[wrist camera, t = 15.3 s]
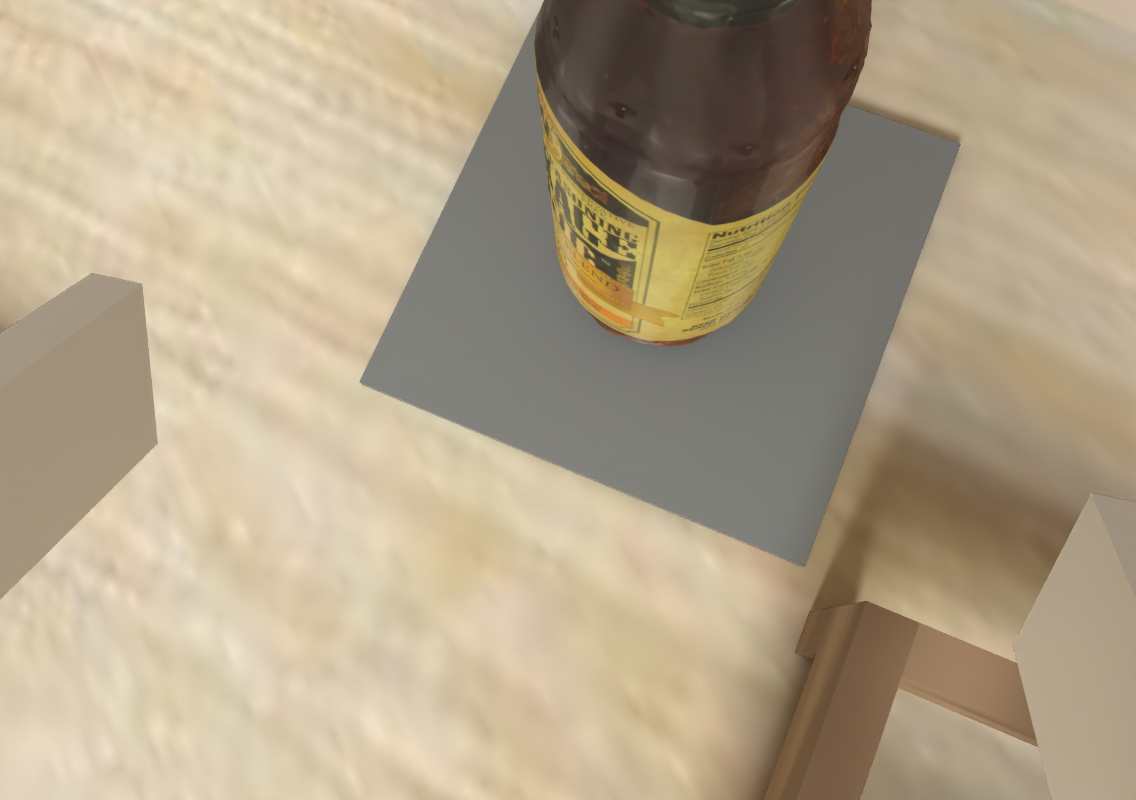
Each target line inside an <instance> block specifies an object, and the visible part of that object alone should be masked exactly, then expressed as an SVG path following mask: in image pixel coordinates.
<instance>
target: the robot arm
mask: <svg viewBox="0 0 1136 800" xmlns="http://www.w3.org/2000/svg"><path fill="white" fill-rule="evenodd" d="M157 444H158V442H157V432H156V422H155V411H154V401H153V391H152V380H151V370H150V360H149V349H148V339H147V329H146V318H145V308H144V298H143V287H142V284H140V283H136V282H131V281H127V280H122V279H118V278H113V277H108V276H104V275H99V274H95V273H91V274H90V275H88V276H86V277H85V278H83V279H82V280H80V281H79V282H77V283H76V284H74V285H73V286H71V287H70V288H68V289H67V290H65V291H64V292H62V293H61V294H59V295H58V296H56V297H55V298H53V299H52V300H50V301H49V302H47V303H46V304H44V305H43V306H41V307H39V308H38V309H36V310H35V311H33V312H32V313H30V314H29V315H27V316H26V317H24V318H23V319H21V320H20V321H18V322H17V323H15V324H14V325H12V326H11V327H9V328H8V329H6V330H5V331H3V332H2V333H0V599H1V598H2V597H3V596H4V595H5V594H6V593H7V592H8V591H9V590H10V589H11V588H12V587H13V586H14V585H15V584H16V583H17V582H18V581H19V580H20V579H21V578H22V577H23V576H24V575H25V574H26V573H27V572H28V571H29V570H30V569H31V568H33V567H34V566H35V565H36V564H37V563H38V562H39V561H40V560H41V559H42V558H43V557H44V556H45V555H46V554H47V553H48V552H49V551H50V550H51V549H52V548H53V547H54V546H55V545H56V544H57V543H58V542H59V541H60V540H61V539H62V538H63V537H64V536H65V535H66V534H67V533H68V532H69V531H70V530H71V529H72V528H73V527H74V526H75V525H76V524H77V523H78V522H79V521H80V520H81V519H82V518H83V517H84V516H85V515H86V514H87V513H88V512H89V511H90V510H91V509H92V508H93V507H94V506H95V505H96V504H97V503H98V502H99V501H100V500H101V499H102V498H103V497H104V496H105V495H106V494H107V493H108V492H109V491H110V490H111V489H112V488H113V487H114V486H115V485H116V484H117V483H118V482H119V481H120V480H121V479H122V478H123V477H124V476H125V475H126V474H127V473H128V472H129V471H130V470H131V469H132V468H133V467H134V466H135V465H136V464H137V463H138V462H139V461H140V460H141V459H142V458H143V457H144V456H145V455H146V454H147V453H148V452H149V451H150V450H151V449H152V448H153V447H154V446H155V445H157ZM1013 648H1014V652H1015V656H1016V660H1017V664H1018V668H1019V672H1020V676H1021V680H1022V684H1023V688H1024V692H1025V696H1026V700H1027V704H1028V708H1029V712H1030V716H1031V720H1032V724H1033V728H1034V732H1035V736H1036V740H1037V744H1038V748H1039V752H1040V755H1041V759H1042V763H1043V767H1044V771H1045V775H1046V779H1047V783H1048V787H1049V791H1050V795H1051V799H1052V800H1136V503H1135V502H1130V501H1126V500H1121V499H1117V498H1112V497H1108V496H1103V495H1099V494H1094V493H1091V494H1090V496H1089V498H1088V500H1087V502H1086V504H1085V506H1084V508H1083V510H1082V512H1081V513H1080V515H1079V517H1078V519H1077V521H1076V523H1075V525H1074V527H1073V529H1072V531H1071V533H1070V535H1069V537H1068V539H1067V541H1066V543H1065V545H1064V547H1063V549H1062V550H1061V552H1060V554H1059V556H1058V558H1057V560H1056V562H1055V564H1054V566H1053V568H1052V570H1051V572H1050V574H1049V576H1048V578H1047V580H1046V582H1045V584H1044V586H1043V587H1042V589H1041V591H1040V593H1039V595H1038V597H1037V599H1036V601H1035V603H1034V605H1033V607H1032V609H1031V611H1030V613H1029V615H1028V617H1027V619H1026V621H1025V623H1024V624H1023V626H1022V628H1021V630H1020V632H1019V634H1018V636H1017V638H1016V640H1015V642H1014V644H1013Z"/></svg>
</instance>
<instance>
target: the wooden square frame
mask: <svg viewBox="0 0 1136 800" xmlns="http://www.w3.org/2000/svg"><path fill="white" fill-rule="evenodd" d="M795 653H797V654H800V655H802V656H804V657H807V658H809V659H811V660H813V663H812V666H811V669H810V671H809V674H808V677H807V680H806V683H805V685H804V688H803V691H802V694H801V696H800V699H799V702H798V705H797V708H796V710H795V713H794V716H793V719H792V721H791V724H790V727H789V730H788V733H787V735H786V738H785V741H784V744H783V746H782V749H781V752H780V755H779V758H778V760H777V763H776V766H775V769H774V771H773V774H772V777H771V780H770V783H769V785H768V788H767V791H766V794H765V796H764V799H763V800H860V797H861V794H862V791H863V788H864V786H865V783H866V780H867V777H868V774H869V771H870V768H871V765H872V762H873V759H874V756H875V753H876V750H877V747H878V744H879V741H880V738H881V735H882V733H883V730H884V727H885V724H886V721H887V718H888V715H889V712H890V709H891V706H892V703H893V700H894V697H895V694H896V691H897V688H900V689H902V690H905V691H907V692H910V693H912V694H914V695H917V696H919V697H921V698H924V699H926V700H928V701H931V702H933V703H935V704H938V705H940V706H943V707H945V708H947V709H950V710H952V711H954V712H957V713H959V714H961V715H964V716H966V717H968V718H971V719H973V720H975V721H978V722H980V723H983V724H985V725H987V726H990V727H992V728H994V729H997V730H999V731H1001V732H1004V733H1006V734H1008V735H1011V736H1013V737H1015V738H1018V739H1020V740H1023V741H1025V742H1027V743H1030V744H1032V745H1034V746H1037V747H1038V744H1037V740H1036V736H1035V732H1034V728H1033V724H1032V720H1031V716H1030V712H1029V708H1028V704H1027V700H1026V696H1025V692H1024V688H1023V684H1022V680H1021V676H1020V672H1019V668H1018V664H1017V663H1015V662H1012V661H1010V660H1008V659H1005V658H1003V657H1000V656H998V655H996V654H993V653H991V652H988V651H986V650H984V649H981V648H979V647H976V646H974V645H971V644H969V643H967V642H964V641H962V640H959V639H957V638H955V637H952V636H950V635H947V634H945V633H943V632H940V631H938V630H935V629H933V628H930V627H928V626H926V625H923V624H921V623H918V622H916V621H914V620H911V619H909V618H906V617H904V616H902V615H899V614H897V613H894V612H892V611H890V610H887V609H885V608H882V607H880V606H877V605H875V604H873V603H870V602H868V601H864V602H859V603H853V604H848V605H843V606H838V607H833V608H828V609H822V610H817V611H812V612H810V613H809V616H808V618H807V621H806V624H805V627H804V629H803V632H802V635H801V637H800V640H799V643H798V646H797V648H796V651H795Z"/></svg>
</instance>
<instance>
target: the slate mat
mask: <svg viewBox="0 0 1136 800" xmlns="http://www.w3.org/2000/svg"><path fill="white" fill-rule="evenodd" d="M539 12H540V11H539ZM538 15H539V13H538ZM538 15H537V17H536V20H535V22H534V24H533V26H532V28H531V30H530V32H529V34H528V36H527V38H526V40H525V42H524V44H523V46H522V48H521V50H520V52H519V54H518V57H517V59H516V61H515V63H514V65H513V67H512V69H511V71H510V73H509V75H508V77H507V79H506V81H505V83H504V85H503V87H502V89H501V92H500V94H499V96H498V98H497V100H496V102H495V104H494V106H493V108H492V110H491V112H490V114H489V116H488V118H487V120H486V122H485V124H484V127H483V129H482V131H481V133H480V135H479V137H478V139H477V141H476V143H475V145H474V147H473V149H472V151H471V153H470V155H469V157H468V159H467V162H466V164H465V166H464V168H463V170H462V172H461V174H460V176H459V178H458V180H457V182H456V184H455V186H454V188H453V190H452V192H451V194H450V196H449V199H448V201H447V203H446V205H445V207H444V209H443V211H442V213H441V215H440V217H439V219H438V221H437V223H436V225H435V227H434V229H433V231H432V234H431V236H430V238H429V240H428V242H427V244H426V246H425V248H424V250H423V252H422V254H421V256H420V258H419V260H418V262H417V264H416V266H415V269H414V271H413V273H412V275H411V277H410V279H409V281H408V283H407V285H406V287H405V289H404V291H403V293H402V295H401V297H400V299H399V301H398V303H397V306H396V308H395V310H394V312H393V314H392V316H391V318H390V320H389V322H388V324H387V326H386V328H385V330H384V332H383V334H382V336H381V338H380V341H379V343H378V345H377V347H376V349H375V351H374V353H373V355H372V357H371V359H370V361H369V363H368V365H367V367H366V369H365V371H364V373H363V376H362V378H361V380H360V383H361V384H362V385H364V386H367V387H369V388H372V389H374V390H376V391H379V392H381V393H384V394H386V395H389V396H391V397H393V398H396V399H398V400H401V401H403V402H405V403H408V404H410V405H413V406H415V407H418V408H420V409H422V410H425V411H427V412H430V413H432V414H434V415H437V416H439V417H442V418H444V419H447V420H449V421H451V422H454V423H456V424H459V425H461V426H463V427H466V428H468V429H471V430H473V431H476V432H478V433H480V434H483V435H485V436H488V437H490V438H492V439H495V440H497V441H500V442H502V443H505V444H507V445H509V446H512V447H514V448H517V449H519V450H521V451H524V452H526V453H529V454H531V455H534V456H536V457H538V458H541V459H543V460H546V461H548V462H550V463H553V464H555V465H558V466H560V467H563V468H565V469H567V470H570V471H572V472H575V473H577V474H579V475H582V476H584V477H587V478H589V479H592V480H594V481H596V482H599V483H601V484H604V485H606V486H608V487H611V488H613V489H616V490H618V491H621V492H623V493H625V494H628V495H630V496H633V497H635V498H637V499H640V500H642V501H645V502H647V503H650V504H652V505H654V506H657V507H659V508H662V509H664V510H666V511H669V512H671V513H674V514H676V515H679V516H681V517H683V518H686V519H688V520H691V521H693V522H695V523H698V524H700V525H703V526H705V527H708V528H710V529H712V530H715V531H717V532H720V533H722V534H724V535H727V536H729V537H732V538H734V539H737V540H739V541H741V542H744V543H746V544H749V545H751V546H753V547H756V548H758V549H761V550H763V551H766V552H768V553H770V554H773V555H775V556H778V557H780V558H782V559H785V560H787V561H790V562H792V563H795V564H797V565H799V566H802V567H804V566H805V565H806V562H807V559H808V556H809V554H810V551H811V548H812V546H813V543H814V540H815V538H816V535H817V532H818V529H819V527H820V524H821V521H822V519H823V516H824V513H825V510H826V508H827V505H828V502H829V500H830V497H831V494H832V491H833V489H834V486H835V483H836V481H837V478H838V475H839V472H840V470H841V467H842V464H843V462H844V459H845V456H846V454H847V451H848V448H849V445H850V443H851V440H852V437H853V435H854V432H855V429H856V426H857V424H858V421H859V418H860V416H861V413H862V410H863V407H864V405H865V402H866V399H867V397H868V394H869V391H870V389H871V386H872V383H873V380H874V378H875V375H876V372H877V370H878V367H879V364H880V361H881V359H882V356H883V353H884V351H885V348H886V345H887V342H888V340H889V337H890V334H891V332H892V329H893V326H894V324H895V321H896V318H897V315H898V313H899V310H900V307H901V305H902V302H903V299H904V296H905V294H906V291H907V288H908V286H909V283H910V280H911V277H912V275H913V272H914V269H915V267H916V264H917V261H918V259H919V256H920V253H921V250H922V248H923V245H924V242H925V240H926V237H927V234H928V231H929V229H930V226H931V223H932V221H933V218H934V215H935V212H936V210H937V207H938V204H939V202H940V199H941V196H942V193H943V191H944V188H945V185H946V183H947V180H948V177H949V175H950V172H951V169H952V166H953V164H954V161H955V158H956V156H957V153H958V150H959V147H960V145H961V144H959V143H956V142H953V141H951V140H948V139H945V138H942V137H939V136H936V135H933V134H930V133H928V132H925V131H922V130H919V129H916V128H913V127H910V126H907V125H905V124H902V123H899V122H896V121H893V120H890V119H887V118H884V117H882V116H879V115H876V114H873V113H870V112H867V111H864V110H861V109H859V108H856V107H853V106H850V105H846V107H845V109H844V110H843V112H842V114H841V119H840V124H839V127H838V130H837V133H836V136H835V139H834V141H833V143H832V145H831V148H830V150H829V152H828V154H827V156H826V158H825V159H824V161H823V163H822V165H821V167H820V169H819V171H818V173H817V175H816V177H815V179H814V181H813V183H812V185H811V187H810V189H809V191H808V193H807V195H806V197H805V199H804V201H803V203H802V205H801V207H800V209H799V211H798V213H797V215H796V217H795V219H794V221H793V223H792V225H791V227H790V229H789V231H788V233H787V235H786V237H785V239H784V241H783V243H782V245H781V247H780V249H779V251H778V253H777V255H776V257H775V259H774V261H773V263H772V265H771V267H770V269H769V271H768V273H767V275H766V277H765V279H764V281H763V283H762V285H761V287H760V288H759V290H758V291H757V293H756V295H755V296H754V298H753V299H752V300H751V301H750V303H749V304H748V305H747V306H746V307H745V308H744V310H743V311H742V312H741V313H739V314H738V315H737V316H736V317H735V318H734V319H733V320H732V321H731V322H730V323H728V324H726V325H724V326H722V327H720V328H719V329H717V330H716V331H715V332H714V333H713V334H709V335H707V336H706V337H704V338H701V339H699V340H697V341H696V342H693V343H691V344H688V345H681V346H664V345H654V344H643V343H640V342H637V341H632V340H629V339H627V338H624V337H622V336H618V335H615V334H610V333H609V332H607V331H606V330H605V329H604V328H603V327H601V326H600V325H599V324H598V323H597V321H596V320H595V319H594V318H593V317H592V316H591V315H590V314H589V313H588V312H587V310H586V309H585V308H584V307H583V306H582V305H581V303H580V302H579V301H578V299H577V298H576V296H575V295H574V294H573V292H572V290H571V289H570V287H569V286H568V284H567V282H566V280H565V277H564V274H563V272H562V269H561V266H560V262H559V258H558V254H557V247H556V238H555V230H554V222H553V214H552V207H551V197H550V192H549V190H548V177H547V169H546V158H545V151H544V139H543V127H542V121H541V116H540V113H541V111H540V104H539V97H538V90H537V74H536V65H535V49H534V41H535V30H536V24H537V20H538Z"/></svg>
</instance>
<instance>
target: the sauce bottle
mask: <svg viewBox="0 0 1136 800" xmlns="http://www.w3.org/2000/svg"><path fill="white" fill-rule="evenodd" d="M871 1H872V0H544V2H543V4H542V7H541V9H540V12H539V15H538V20H537V24H536V30H535V41H534V49H535V65H536V74H537V90H538V97H539V104H540V111H541V113H540V116H541V121H542V127H543V139H544V151H545V158H546V169H547V177H548V190H549V192H550V197H551V207H552V214H553V222H554V230H555V238H556V247H557V254H558V258H559V262H560V266H561V269H562V272H563V274H564V277H565V280H566V282H567V284H568V286H569V287H570V289H571V290H572V292H573V294H574V295H575V296H576V298H577V299H578V301H579V302H580V303H581V305H582V306H583V307H584V308H585V309H586V310H587V312H588V313H589V314H590V315H591V316H592V317H593V318H594V319H595V320H596V321H597V323H598V324H599V325H600V326H601V327H603V328H604V329H605V330H606V331H607V332H609V333H610V334H615V335H618V336H622V337H624V338H627V339H629V340H632V341H637V342H640V343H643V344H654V345H664V346H681V345H688V344H691V343H693V342H696V341H697V340H699V339H701V338H704V337H706V336H707V335H709V334H713V333H714V332H715V331H716V330H717V329H719V328H720V327H722V326H724V325H726V324H728V323H730V322H731V321H732V320H733V319H734V318H735V317H736V316H737V315H738V314H739V313H741V312H742V311H743V310H744V308H745V307H746V306H747V305H748V304H749V303H750V301H751V300H752V299H753V298H754V296H755V295H756V293H757V291H758V290H759V288H760V287H761V285H762V283H763V281H764V279H765V277H766V275H767V273H768V271H769V269H770V267H771V265H772V263H773V261H774V259H775V257H776V255H777V253H778V251H779V249H780V247H781V245H782V243H783V241H784V239H785V237H786V235H787V233H788V231H789V229H790V227H791V225H792V223H793V221H794V219H795V217H796V215H797V213H798V211H799V209H800V207H801V205H802V203H803V201H804V199H805V197H806V195H807V193H808V191H809V189H810V187H811V185H812V183H813V181H814V179H815V177H816V175H817V173H818V171H819V169H820V167H821V165H822V163H823V161H824V159H825V158H826V156H827V154H828V152H829V150H830V148H831V145H832V143H833V141H834V139H835V136H836V133H837V130H838V127H839V124H840V119H841V114H842V112H843V110H844V109H845V107H846V105H847V103H848V102H849V100H850V98H851V96H852V94H853V91H854V89H855V86H856V83H857V81H858V78H859V75H860V72H861V70H862V68H863V66H864V59H865V57H866V55H867V49H868V41H869V33H870V30H871V27H872V25H871Z"/></svg>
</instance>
